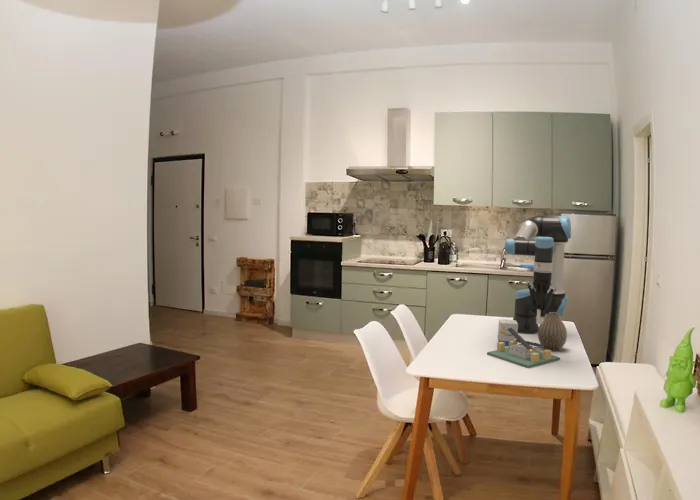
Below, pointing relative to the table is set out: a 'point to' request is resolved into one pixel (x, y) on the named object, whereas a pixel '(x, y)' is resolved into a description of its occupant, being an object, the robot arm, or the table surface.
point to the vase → (552, 332)
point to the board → (521, 360)
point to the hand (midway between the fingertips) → (539, 323)
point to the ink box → (506, 331)
